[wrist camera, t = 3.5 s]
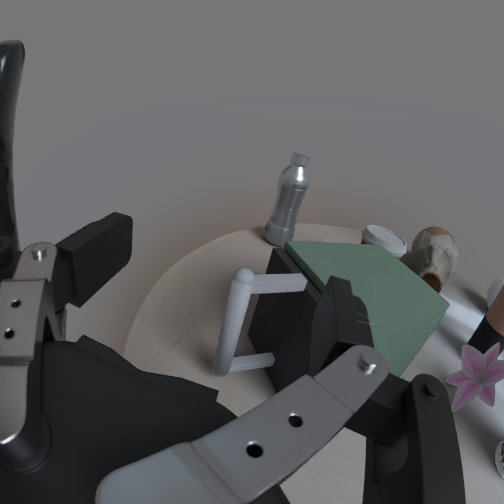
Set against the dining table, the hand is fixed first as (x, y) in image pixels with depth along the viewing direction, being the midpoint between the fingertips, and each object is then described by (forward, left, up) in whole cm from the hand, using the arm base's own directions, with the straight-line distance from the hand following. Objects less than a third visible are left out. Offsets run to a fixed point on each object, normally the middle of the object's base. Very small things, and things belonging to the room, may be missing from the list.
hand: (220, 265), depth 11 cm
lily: (+40, -6, -22) cm, 46 cm away
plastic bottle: (+28, +42, -22) cm, 55 cm away
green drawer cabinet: (+21, +9, -21) cm, 32 cm away
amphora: (+64, +25, -22) cm, 72 cm away
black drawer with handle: (+16, +9, -21) cm, 28 cm away
